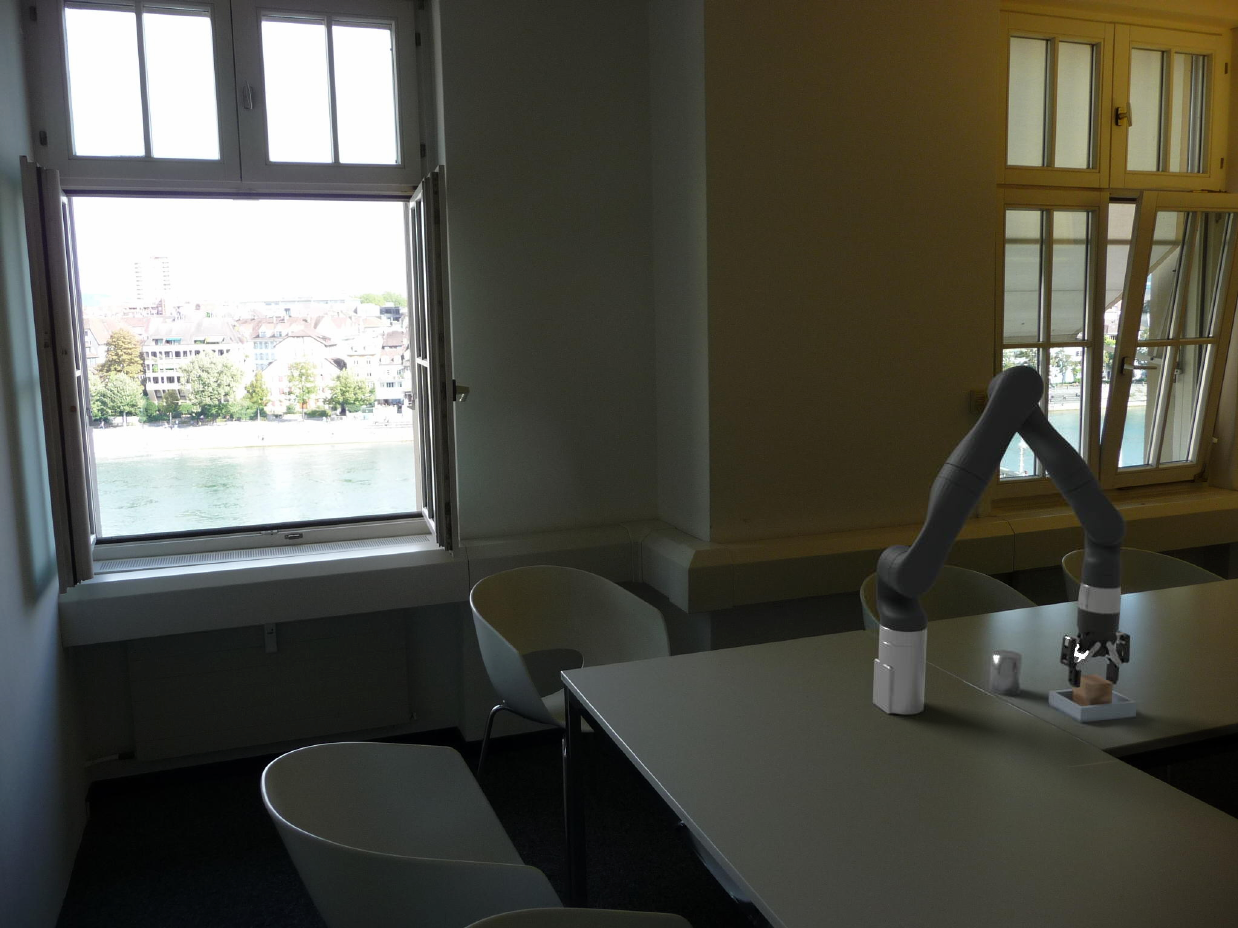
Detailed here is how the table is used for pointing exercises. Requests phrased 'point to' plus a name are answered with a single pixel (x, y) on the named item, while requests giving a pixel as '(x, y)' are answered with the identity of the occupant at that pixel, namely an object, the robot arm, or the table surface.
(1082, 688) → the walnut block
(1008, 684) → the grey can
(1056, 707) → the slate tray
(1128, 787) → the table surface
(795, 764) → the table surface
